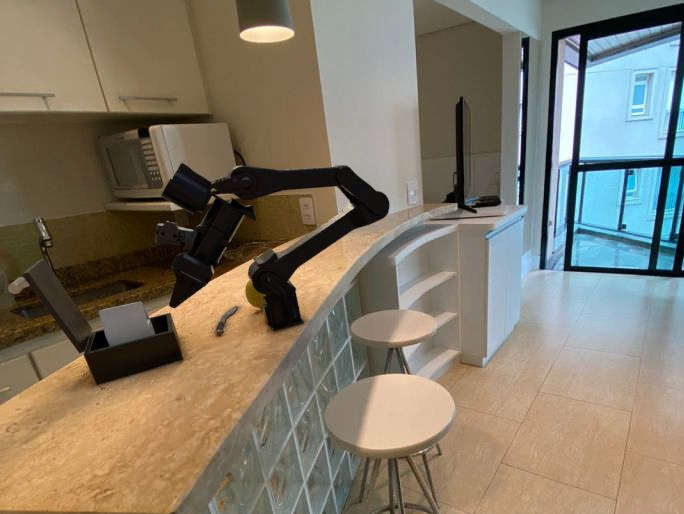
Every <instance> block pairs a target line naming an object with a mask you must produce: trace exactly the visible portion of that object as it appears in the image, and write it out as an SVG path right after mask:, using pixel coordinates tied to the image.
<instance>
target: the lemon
mask: <svg viewBox="0 0 684 514" xmlns="http://www.w3.org/2000/svg"><path fill="white" fill-rule="evenodd" d="M244 293H245V297H246V300H247V302H248V303H249V304H250V306H252V307H253V308H258V309H260V310H262V304H264V301H263V296H266V294H261V293H259V292H258V291H257V290H255V288H254V287H253V285H252V283H251V281H250V279H249V280H248V281H247V282H246V284H245V289H244ZM262 311H263V310H262Z"/></svg>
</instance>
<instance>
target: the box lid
mask: <svg viewBox="0 0 684 514" xmlns="http://www.w3.org/2000/svg"><path fill="white" fill-rule="evenodd" d="M28 287H30V288H31V289H32V291H33V293H35V295H36V296H37V297H38V299H39V301H40V302H41V303H42V304H43V306H44V307H45V309H46V310H47V311H48V313H49V315H51V317H52V318H53V319H54V321H55V322H56V324H57V325H58V327H59V329H61V330H62V332H63V333H64V335H65V336H66V337H67V339H68V340H69V341H70V343H71V344H72V345H73V347H74V349H76V351H77V352H78V354H82V353H84V352H85V349H86V346H87V343H88V340H89V337H90V334H91V332H93V328H92V326H91V324H90V323H89V321H88V320H87V319H86V317H85V316H84V315H83V313H82V312H81V310H80V308H79V307H78V305H77V304H76V303H75V301H74V300H73V298H72V297H71V295H70V294H69V293H68V292H67V290H66V288H65V287H64V285H63V284H62V283H61V281H60V280H59V278H58V277H57V275H56V274H55V272H54V271H53V270H52V268H51V267H50V265H49V263H48V262H47V261H46V259H45V258H40V259H39V260H37V261H36V262H35V263H34V264H32V265H31V266H30V267H28V269H26V270H25V271H24V272H22V273H21V276H19V277H18V278H16V279H15V280H14V281H12V282H11V283H10V284H9V285H8V287H7V290H8V292H9V293H10V294H13V295H18V294H20V293H21V292H22V291H23V290H24V289H25V288H28Z"/></svg>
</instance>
